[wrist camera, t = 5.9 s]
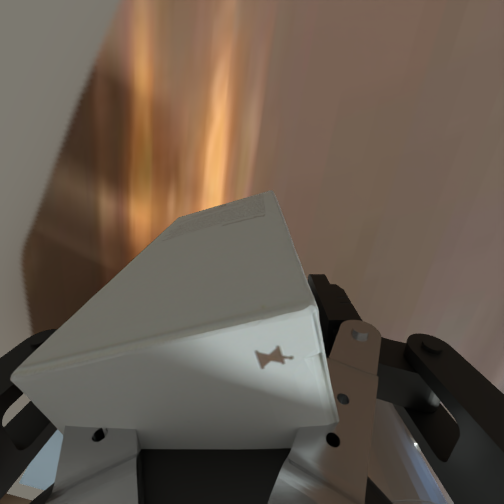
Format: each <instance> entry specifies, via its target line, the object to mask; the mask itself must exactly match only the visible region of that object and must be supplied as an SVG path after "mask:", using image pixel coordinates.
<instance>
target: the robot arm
mask: <svg viewBox="0 0 504 504" xmlns="http://www.w3.org/2000/svg"><path fill="white" fill-rule="evenodd" d="M308 284H309V286H310V289H311V291H312V294H313V296H314V299H315V301H316V304H317V306H318V311H319V321H320V326H321V332H322V337H323V343H324V348H325V354H326V360H327V365H328V370H329V376H330V381H331V386H332V390H333V394H334V399H335V403H336V407H337V412H338V416H339V422H335V423H332V424H329V425H324V426H309V427H299V429H298V432H297V435H296V437H295V440H294V443H293V445H292V448H280V449H238V450H236V449H141V445H140V441H139V438H138V434H137V431H136V429H121V428H106V431H107V435H106V436H105V435H104V432H103V429H102V428H95V427H77V426H65V430H64V435H63V440H62V445H61V451H60V456H59V461H58V466H57V472H56V477H55V482H54V483H53V484H52V485H51V486H49V487H48V488H47V489H46V490H45V491H44V492H42V493H41V494H40V495H39V496H37V497H36V498H35V499H34V500H33V501H31V502H30V503H29V504H448V503H447V502H446V500H445V498H444V496H443V494H442V492H441V491H440V489H439V487H438V485H437V483H436V481H435V480H434V478H433V476H432V474H431V472H430V470H429V468H428V467H427V465H426V463H425V461H424V459H423V457H422V456H421V454H420V450H421V451H422V453H423V454H424V456H425V457H426V459H427V461H428V462H429V464H430V465H431V467H432V469H433V470H434V472H435V473H436V475H437V477H438V478H439V480H440V481H441V483H442V485H443V486H444V488H445V489H446V491H447V493H448V494H449V496H450V497H451V499H452V501H453V502H454V504H504V394H503V393H502V392H501V391H499V390H498V389H497V388H496V387H495V386H494V385H493V384H492V383H491V382H490V381H488V380H487V379H486V378H485V377H484V376H483V375H482V374H481V373H480V372H479V371H477V370H476V369H475V368H474V367H473V366H472V365H471V364H470V363H469V362H467V361H466V360H465V359H464V358H463V357H462V356H461V355H460V354H459V353H458V352H456V351H455V350H454V349H453V348H452V347H451V346H450V345H448V344H447V343H446V342H444V341H442V340H440V339H438V338H436V337H433V336H430V335H426V334H413V335H410V336H409V337H408V339H407V343H402V342H398V341H393V340H389V339H385V338H383V337H381V334H380V332H379V331H378V330H377V329H376V328H375V327H374V326H372V325H371V324H369V323H367V322H364V321H362V320H361V318H360V316H359V315H358V313H357V311H356V310H355V308H354V306H353V305H352V304H351V301H350V300H349V298H348V296H347V295H346V293H345V291H344V290H343V289H342V288H340V287H339V286H338V285H336V284H330V283H329V281H328V279H327V277H326V276H325V275H324V274H309V276H308ZM57 330H58V329H51V330H46V331H43V332H40V333H37V334H35V335H33V336H31V337H29V338H27V339H26V340H25V341H23V342H22V343H20V344H19V345H18V346H16V347H15V348H13V349H12V350H11V351H9V352H8V353H7V354H5V355H4V356H3V357H1V358H0V500H1V498H2V497H3V496H4V495H5V493H6V492H7V491H8V490H9V489H10V487H11V486H12V485H13V483H14V482H15V481H16V480H17V479H18V477H19V476H20V475H21V474H22V472H23V471H24V470H25V469H26V468H27V466H28V465H29V464H30V463H31V461H32V460H33V459H34V458H35V456H36V455H37V454H38V453H39V451H40V450H41V449H42V448H43V447H44V445H45V444H46V443H47V442H48V440H49V439H50V438H51V437H52V435H53V434H54V433H55V432H56V430H57V428H56V427H55V426H54V425H53V424H52V422H51V421H50V420H49V419H48V418H47V417H46V416H45V415H44V414H43V413H42V412H41V411H40V410H39V409H38V408H37V407H36V406H35V405H34V403H33V402H32V401H30V402H29V403H28V404H27V405H26V406H25V407H24V408H23V409H22V410H21V411H20V412H19V413H18V414H17V415H16V416H15V417H14V418H13V419H12V420H11V421H10V422H9V423H8V424H7V425H6V426H5V427H3V426H2V419H3V416H4V414H5V412H6V410H7V409H8V408H9V407H10V406H11V405H12V404H13V403H14V402H15V401H16V400H17V399H18V398H19V397H20V396H21V395H22V394H23V392H22V391H21V390H20V389H19V388H18V387H17V386H16V385H15V384H14V383H13V382H12V381H11V380H10V378H11V375H12V373H13V372H14V371H15V370H16V369H17V368H18V367H19V366H20V365H21V364H22V363H23V362H24V361H25V360H26V359H27V358H28V357H29V356H30V355H31V354H32V353H33V352H34V351H35V350H36V349H37V348H38V347H40V346H41V345H42V344H43V343H44V342H45V341H46V340H47V339H48V338H49V337H50V336H51V335H52V334H53V333H54V332H55V331H57ZM440 401H441V402H442V403H443V404H444V406H445V407H446V408H447V409H448V410H449V412H450V413H451V414H452V415H453V417H454V418H455V420H456V422H457V423H456V422H455V421H454V419H453V418H452V417H451V416H450V415H449V413H448V412H447V411H446V410H445V408H444V407H443V406H442V405H441V403H440Z"/></svg>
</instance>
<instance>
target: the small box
mask: <svg viewBox="0 0 504 504" xmlns="http://www.w3.org/2000/svg"><path fill="white" fill-rule="evenodd" d="M10 380H11V381H12V382H13V383H14V384H15V385H16V386H17V387H18V388H19V389H20V390H21V391H22V392H23V393H24V394H25V395H26V396H27V397H28V398H29V399H30V400H31V401H32V402H33V403H34V405H35V406H36V407H37V408H38V409H39V410H40V411H41V412H42V413H43V414H44V415H45V416H46V417H47V418H48V419H49V420H50V421H51V422H52V424H53V425H54V426H55V427H56V428H57V429H58V430H59V431H60V432H61V433H62V435H64V430H65V426H77V427H95V428H102V429H103V432H104V435H105V436H106V435H107V431H106V428H121V429H136V431H137V434H138V438H139V441H140V445H141V449H236V450H238V449H280V448H292V445H293V443H294V440H295V437H296V435H297V432H298V429H299V427H309V426H324V425H329V424H332V423H335V422H339V416H338V412H337V407H336V403H335V399H334V394H333V390H332V386H331V381H330V376H329V370H328V365H327V360H326V354H325V348H324V343H323V337H322V332H321V326H320V321H319V311H318V306H317V304H316V301H315V299H314V296H313V294H312V291H311V289H310V286H309V284H308V281H307V279H306V276H305V274H304V271H303V268H302V265H301V263H300V260H299V257H298V255H297V252H296V250H295V247H294V244H293V241H292V239H291V236H290V233H289V230H288V227H287V224H286V222H285V219H284V216H283V214H282V211H281V209H280V206H279V204H278V201H277V199H276V196H275V194H274V192H273V191H272V190H270V191H267V192H264V193H261V194H257V195H254V196H250V197H247V198H244V199H240V200H237V201H233V202H230V203H226V204H223V205H220V206H216V207H213V208H209V209H206V210H202V211H199V212H196V213H192V214H189V215H186V216H182V217H179V218H178V219H176V220H175V221H174V222H173V223H172V224H171V225H170V226H169V227H168V228H167V229H166V230H164V231H163V232H162V233H161V234H160V235H159V236H158V237H157V238H156V239H155V240H154V241H153V242H151V243H150V244H149V245H148V246H147V247H146V248H145V249H144V250H143V251H142V252H141V253H140V254H139V255H137V256H136V257H135V258H134V259H133V260H132V261H131V262H130V263H129V264H128V265H127V266H126V267H125V268H124V269H122V270H121V271H120V272H119V273H118V274H117V275H116V276H115V277H114V278H113V279H112V280H111V281H110V282H108V283H107V284H106V285H105V286H104V287H103V288H102V289H101V290H99V291H98V292H97V293H96V294H95V295H94V296H93V297H92V298H91V299H90V300H89V301H88V302H87V303H86V304H84V305H83V306H82V307H81V308H80V309H79V310H78V311H77V312H76V313H75V314H74V315H73V316H72V317H71V318H70V319H68V320H67V321H66V322H65V323H64V324H63V325H62V326H61V327H60V328H59V329H58V330H57V331H55V332H54V333H53V334H52V335H51V336H50V337H49V338H48V339H47V340H46V341H45V342H44V343H43V344H42V345H41V346H40V347H38V348H37V349H36V350H35V351H34V352H33V353H32V354H31V355H30V356H29V357H28V358H27V359H26V360H25V361H24V362H23V363H22V364H21V365H20V366H19V367H18V368H17V369H16V370H15V371H14V372H13V373H12V375H11V378H10Z"/></svg>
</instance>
